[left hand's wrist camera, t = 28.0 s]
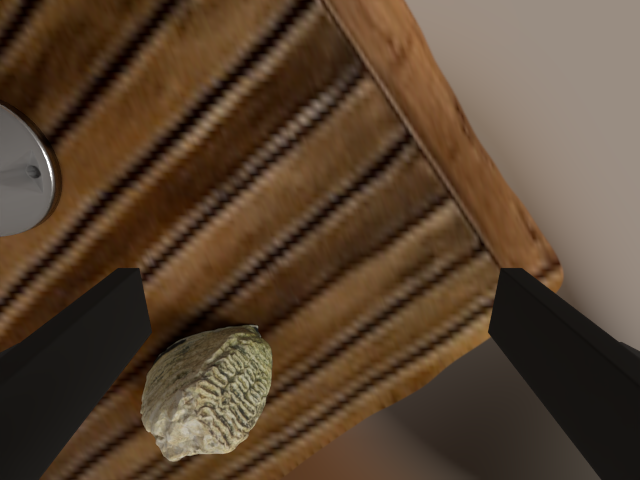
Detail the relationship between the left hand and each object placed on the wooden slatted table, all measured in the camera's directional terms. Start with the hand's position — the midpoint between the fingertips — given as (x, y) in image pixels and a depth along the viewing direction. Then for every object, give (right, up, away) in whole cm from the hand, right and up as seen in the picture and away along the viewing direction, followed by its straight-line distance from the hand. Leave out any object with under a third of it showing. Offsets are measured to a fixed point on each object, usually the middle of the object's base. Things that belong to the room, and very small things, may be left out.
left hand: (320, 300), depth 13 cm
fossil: (-14, -13, +34) cm, 39 cm away
